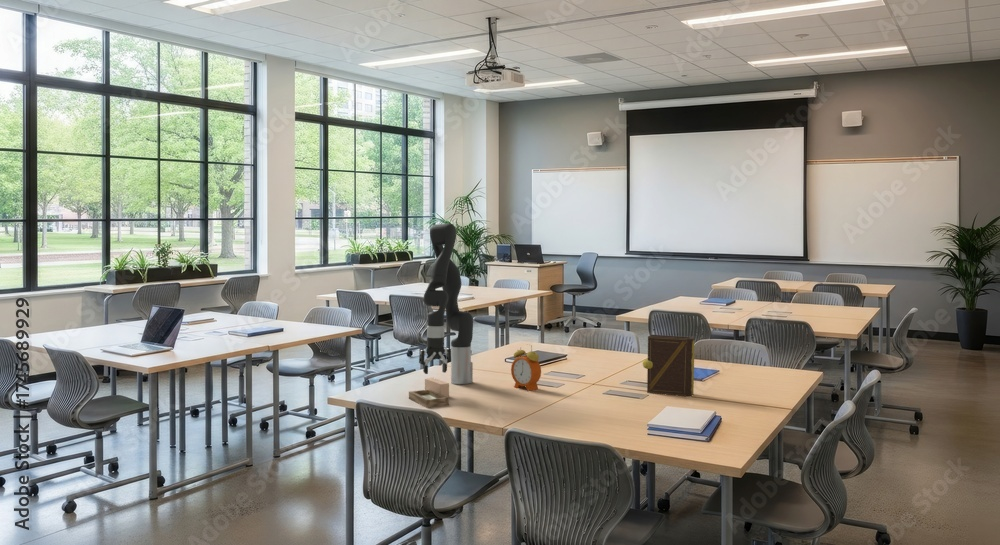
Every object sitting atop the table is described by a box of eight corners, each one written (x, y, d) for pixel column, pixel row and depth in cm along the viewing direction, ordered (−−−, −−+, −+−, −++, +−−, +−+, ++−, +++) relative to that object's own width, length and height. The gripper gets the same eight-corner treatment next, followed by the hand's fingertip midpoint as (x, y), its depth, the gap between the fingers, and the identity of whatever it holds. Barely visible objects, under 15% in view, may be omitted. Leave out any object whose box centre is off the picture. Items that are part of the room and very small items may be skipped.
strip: (432, 391, 343) (432, 377, 342) (449, 397, 331) (448, 383, 331) (424, 392, 341) (424, 378, 340) (440, 398, 329) (440, 384, 329)
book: (694, 393, 338) (695, 336, 336) (690, 397, 330) (691, 339, 328) (645, 388, 347) (645, 333, 345) (640, 392, 339) (641, 336, 338)
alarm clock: (510, 387, 350) (510, 343, 349) (519, 385, 355) (519, 341, 353) (532, 391, 341) (532, 346, 340) (541, 389, 346) (541, 345, 344)
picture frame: (430, 396, 332) (430, 389, 332) (448, 404, 317) (448, 397, 316) (408, 398, 327) (408, 391, 327) (426, 407, 312) (426, 400, 311)
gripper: (446, 334, 341) (446, 370, 342) (416, 335, 334) (416, 372, 335) (454, 336, 335) (453, 373, 335) (423, 337, 328) (423, 375, 329)
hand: (435, 373), depth 335 cm, fingers open, 8 cm apart
